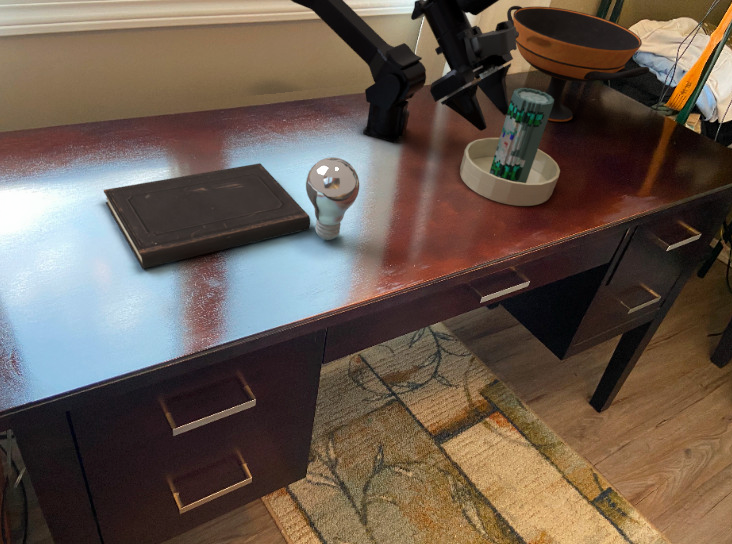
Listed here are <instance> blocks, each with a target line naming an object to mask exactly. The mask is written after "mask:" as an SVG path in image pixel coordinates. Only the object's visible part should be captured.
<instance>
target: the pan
mask: <svg viewBox="0 0 732 544" xmlns="http://www.w3.org/2000/svg"><path fill="white" fill-rule="evenodd" d="M499 139H500V137H483V138H478V139H475V140H473V141H471V142H469V143H468V144H467V145H466V147H465V149H464V152H463V155H462V160H461V164H460V167H459V168H460V169H459V175H460V178H461V180H462V181H463V183H464V184H465V185H466V186H467V187H468V188H469V189H470V190H472V191H473V192H474V193H476V194H478V195H479V196H482V197H484V198H486V199H489V200H491V201H494V202H496V203H501V204H504V205H509V206H517V207H530V206H531V207H532V206H537V205H541V204H544V203H546V202H547V201H548V200H549V199H550V198H551V196H552V195H553V193H554V190H555V187H556V184H557V182H558V179H559V176H560V173H561V169H560V167H559V164H558V162H556V160H554V158H553V157H552V156H550V155H549V154H547V153H546V152H544V151H543V150H541V149H539V148H538V150H537V153H536V156H535V159H534V161H533V164H532V167H531V170H530V173H529V176H528V179H527V182H526V183H521V182H514V181H510V180H506V179H503V178H499V177H497V176H494V175H492V174H490V173H489V172H490V169H491V166H492V162H493V159H494V156H495V152H496V149H497V145H498V142H499Z"/></svg>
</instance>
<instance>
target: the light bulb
mask: <svg viewBox="0 0 732 544" xmlns="http://www.w3.org/2000/svg"><path fill="white" fill-rule="evenodd" d="M305 191H306V196H307V197H308V200H309V201H310V203H311V205H312V206H313V209H314V215H315V216H314V217H315V222H316V223H315V232H316V234H317V236H318V237H320V238H321V239H322V240H324V241H331V240H333V239H335V238H337V237H338V236H339V234H340V232H341V224H342V223H341V222H342V221H343V220H344V217H345V214H346V212H347V211H348V209H350V208H351V207H352V206H353V204H354V203H355V201H356V199H357V198H358V195H359V192H360V179H359V175H358V173H357V171H356V170H355V168H354V166H352V165H351V164H350V163H349V162H348V161H347V160H345V159H343V158H339V157H334V156H333V157H325V158H323V159H321V160H318V161H317V162H315V164H313V165H312V167H311V168H310V169H309V171H308V173H307V176H306V180H305Z"/></svg>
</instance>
